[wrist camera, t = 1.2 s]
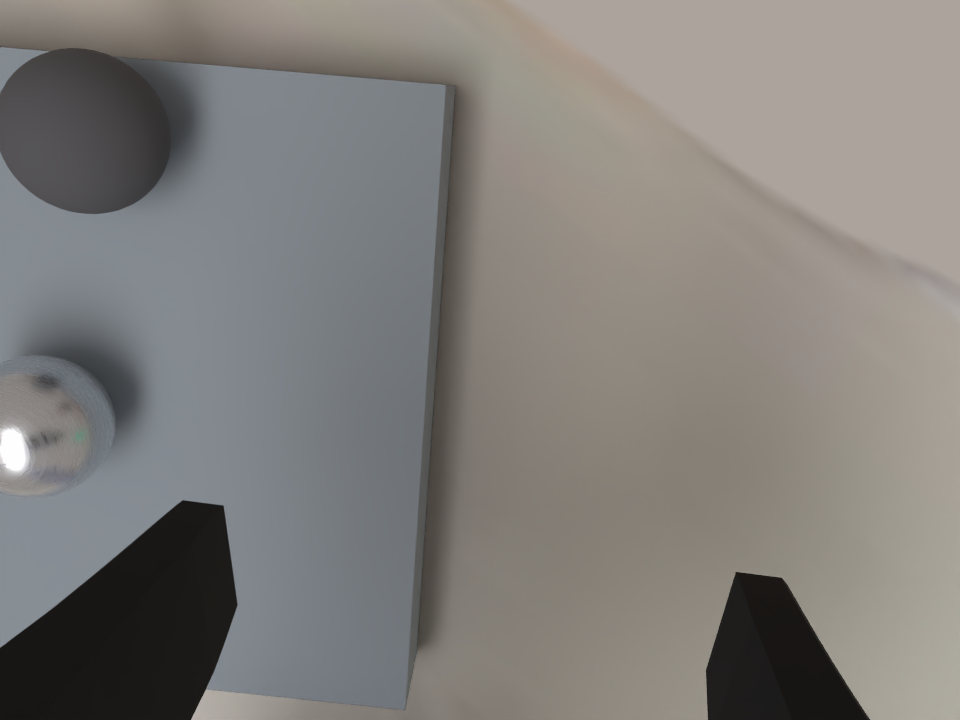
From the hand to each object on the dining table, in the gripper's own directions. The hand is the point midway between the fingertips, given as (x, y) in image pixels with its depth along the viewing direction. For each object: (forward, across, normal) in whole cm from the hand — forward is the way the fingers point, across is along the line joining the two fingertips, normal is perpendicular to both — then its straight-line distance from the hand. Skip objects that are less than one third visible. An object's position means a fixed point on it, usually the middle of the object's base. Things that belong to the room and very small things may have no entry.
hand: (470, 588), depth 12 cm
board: (+9, +13, +4) cm, 17 cm away
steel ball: (+6, +10, +3) cm, 12 cm away
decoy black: (+7, +9, -4) cm, 12 cm away
